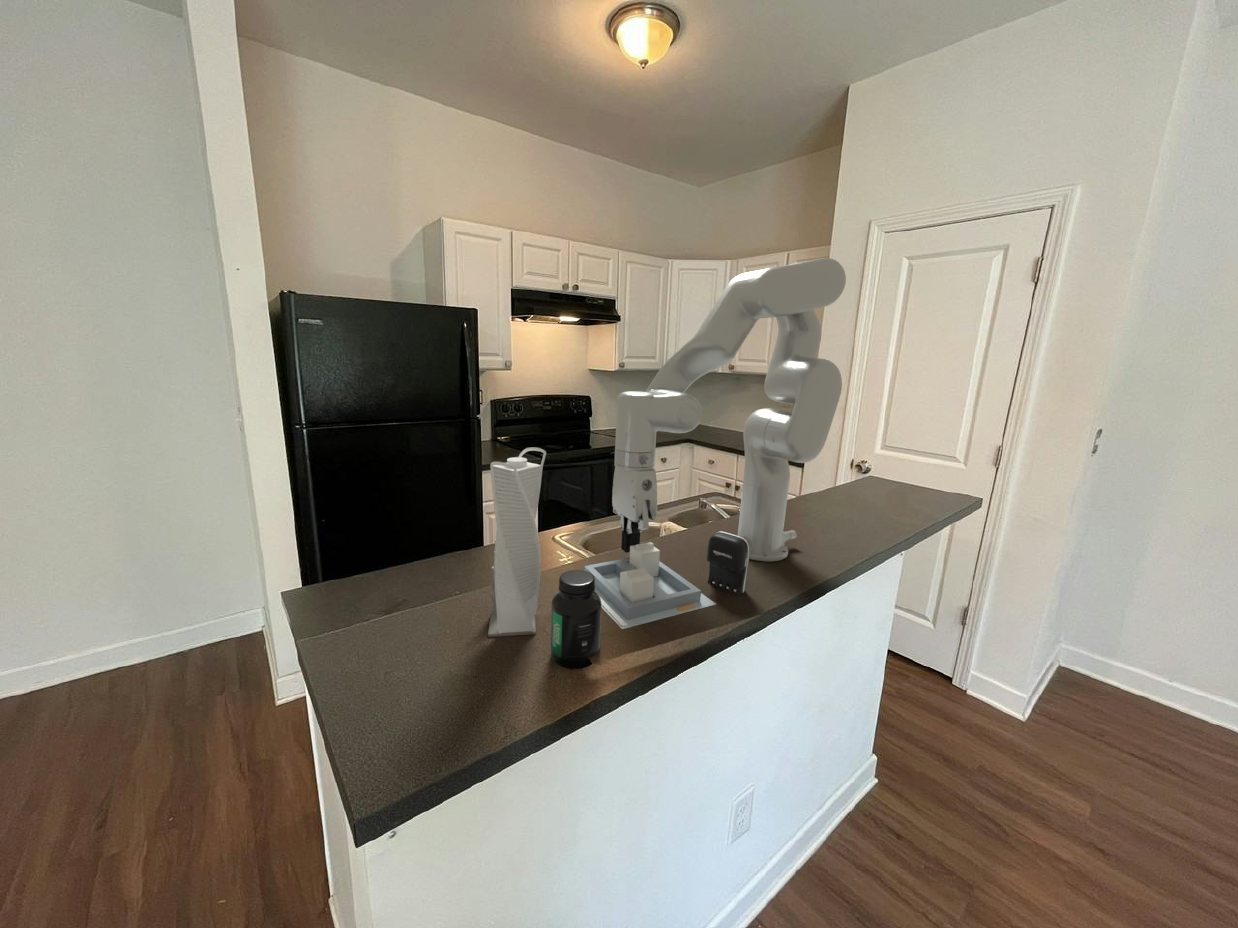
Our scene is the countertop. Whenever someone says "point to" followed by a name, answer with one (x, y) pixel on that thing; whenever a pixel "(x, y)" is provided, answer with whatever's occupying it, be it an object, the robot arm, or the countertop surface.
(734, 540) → the battery charger
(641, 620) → the switch bank
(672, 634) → the countertop surface
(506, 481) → the skyscraper
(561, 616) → the supplement bottle
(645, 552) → the tab
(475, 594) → the countertop surface
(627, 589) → the tab
